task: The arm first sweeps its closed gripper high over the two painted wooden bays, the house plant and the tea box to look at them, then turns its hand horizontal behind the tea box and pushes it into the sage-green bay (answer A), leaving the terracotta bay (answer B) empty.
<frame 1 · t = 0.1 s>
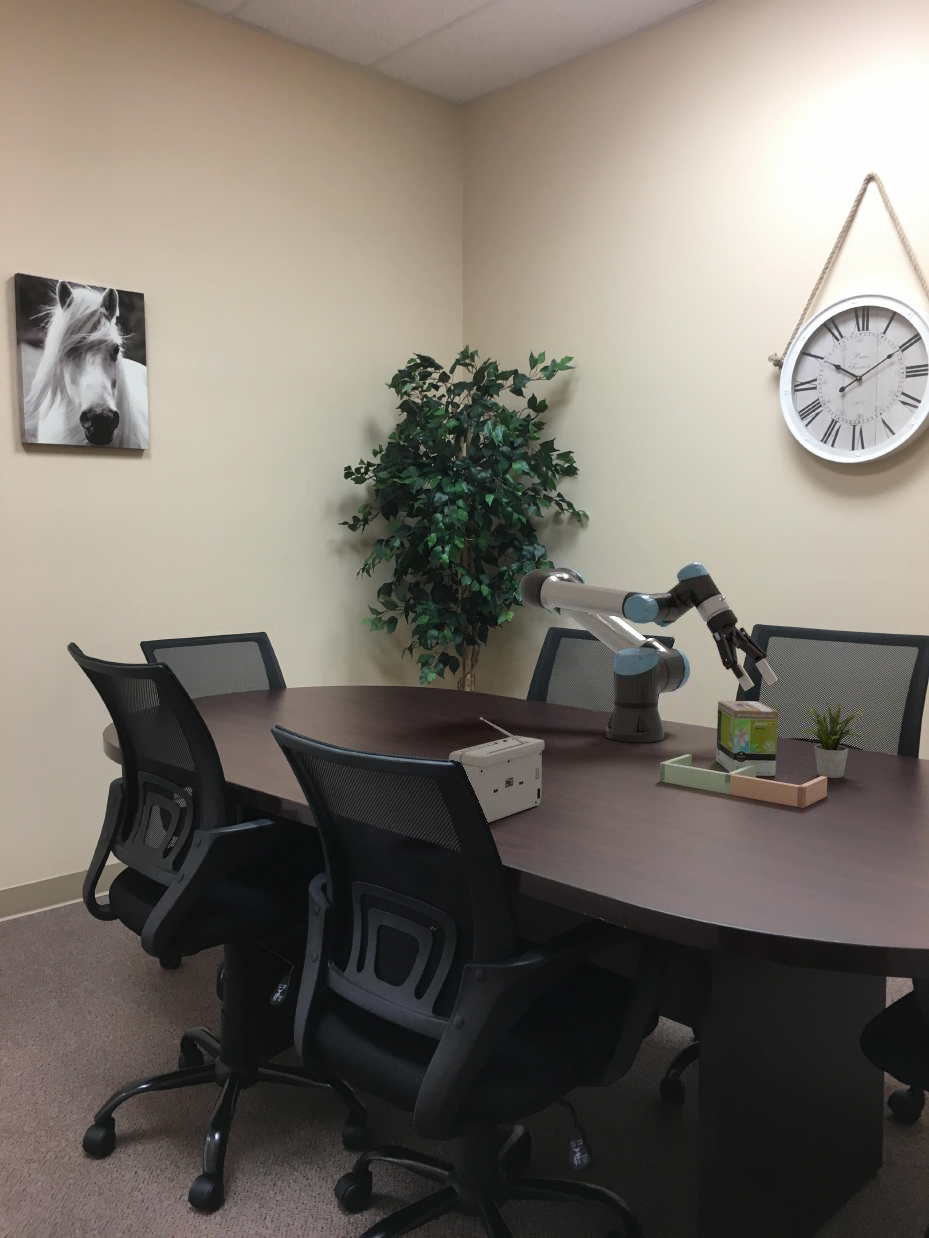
hand: (761, 685, 242), 15 cm above the table, tool tilted 35°, fingers open, 13 cm apart
terracotta bay: (777, 794, 194), on the table
green bay: (709, 781, 204), on the table
house plant: (834, 777, 209), on the table
tea box: (745, 769, 217), on the table
stereo radio cassette player: (498, 814, 180), on the table
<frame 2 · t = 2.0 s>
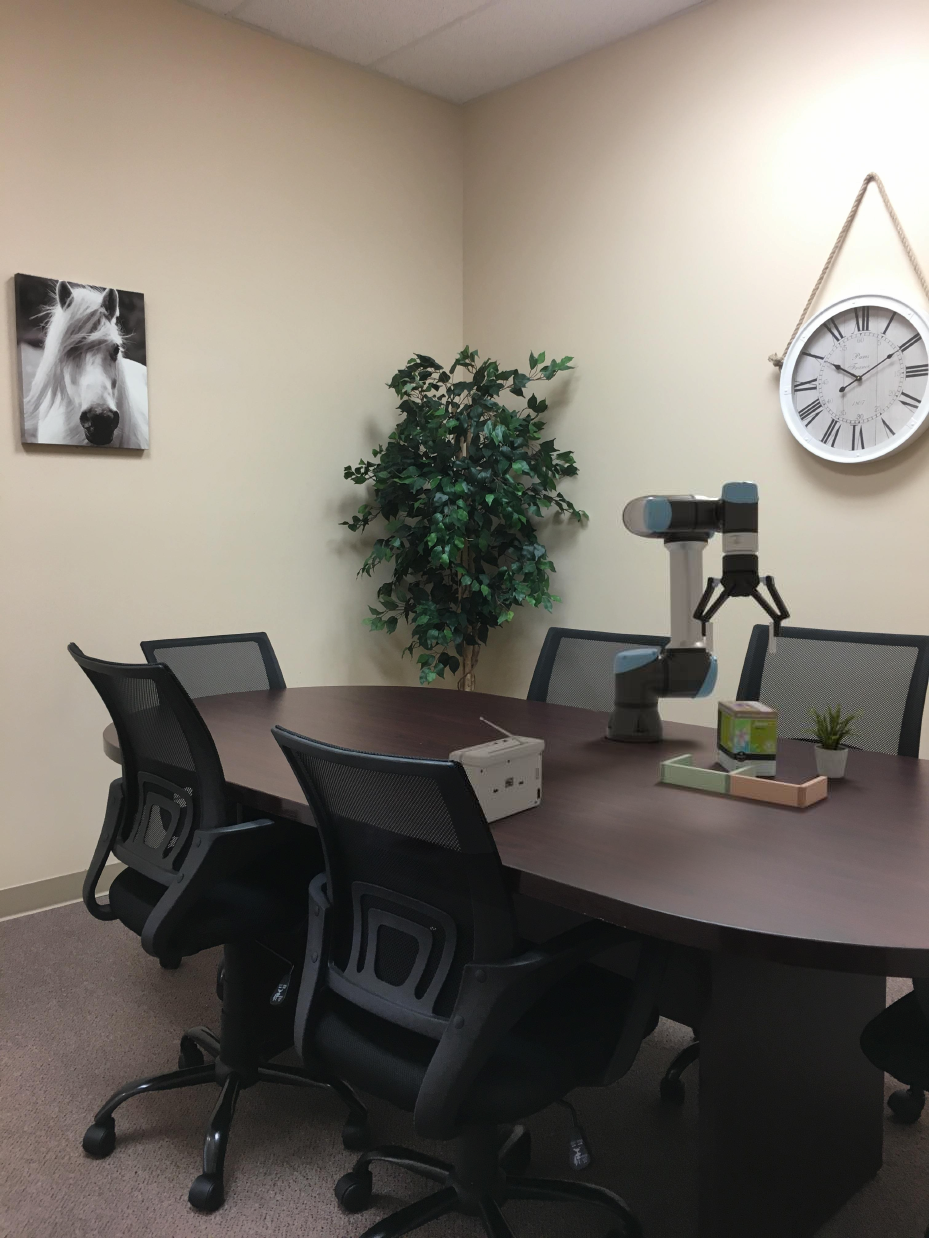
hand: (740, 652, 205), 28 cm above the table, tool pointing down, fingers open, 13 cm apart
nothing on the table moved.
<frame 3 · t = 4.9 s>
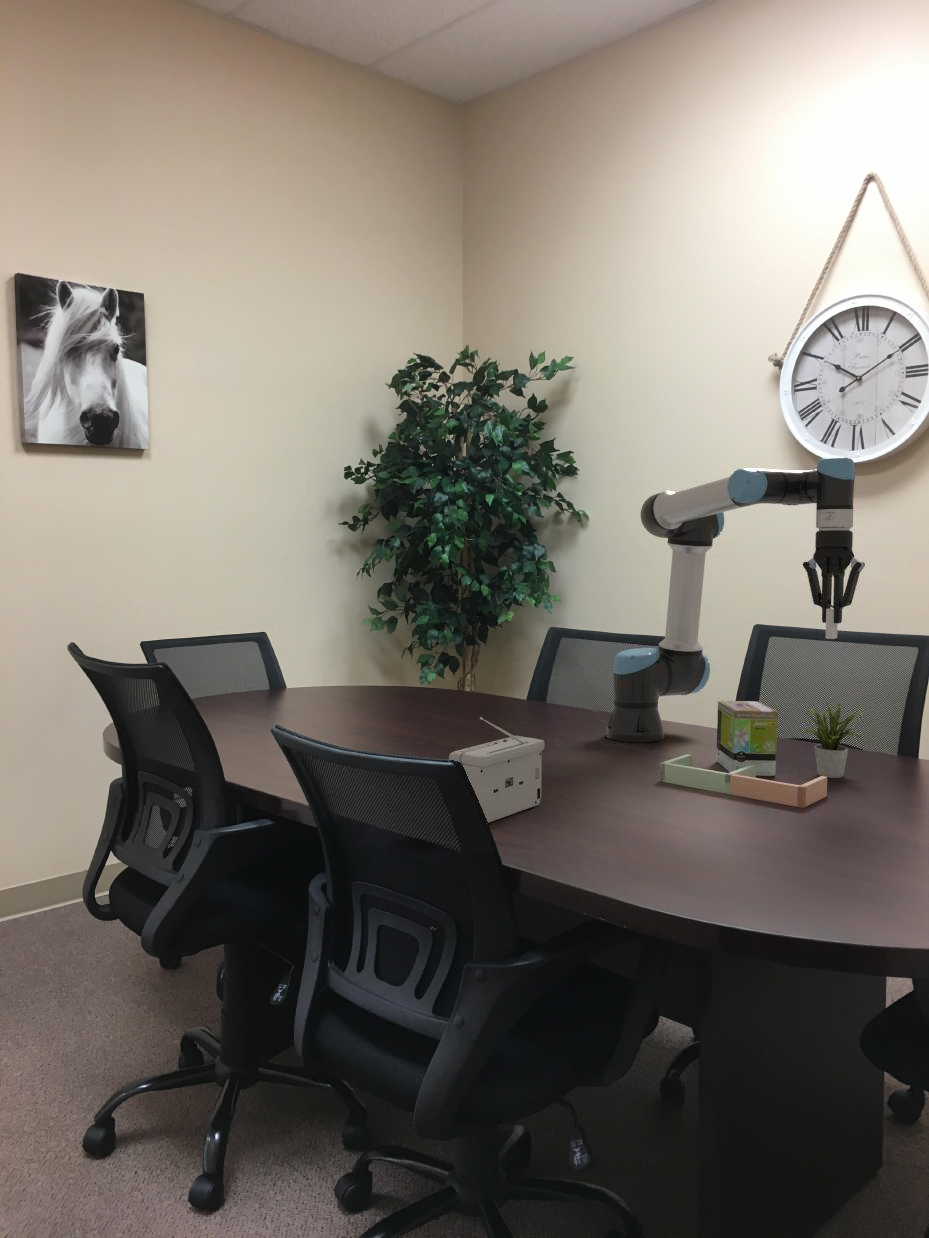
hand: (831, 638, 207), 31 cm above the table, tool pointing down, fingers closed
nothing on the table moved.
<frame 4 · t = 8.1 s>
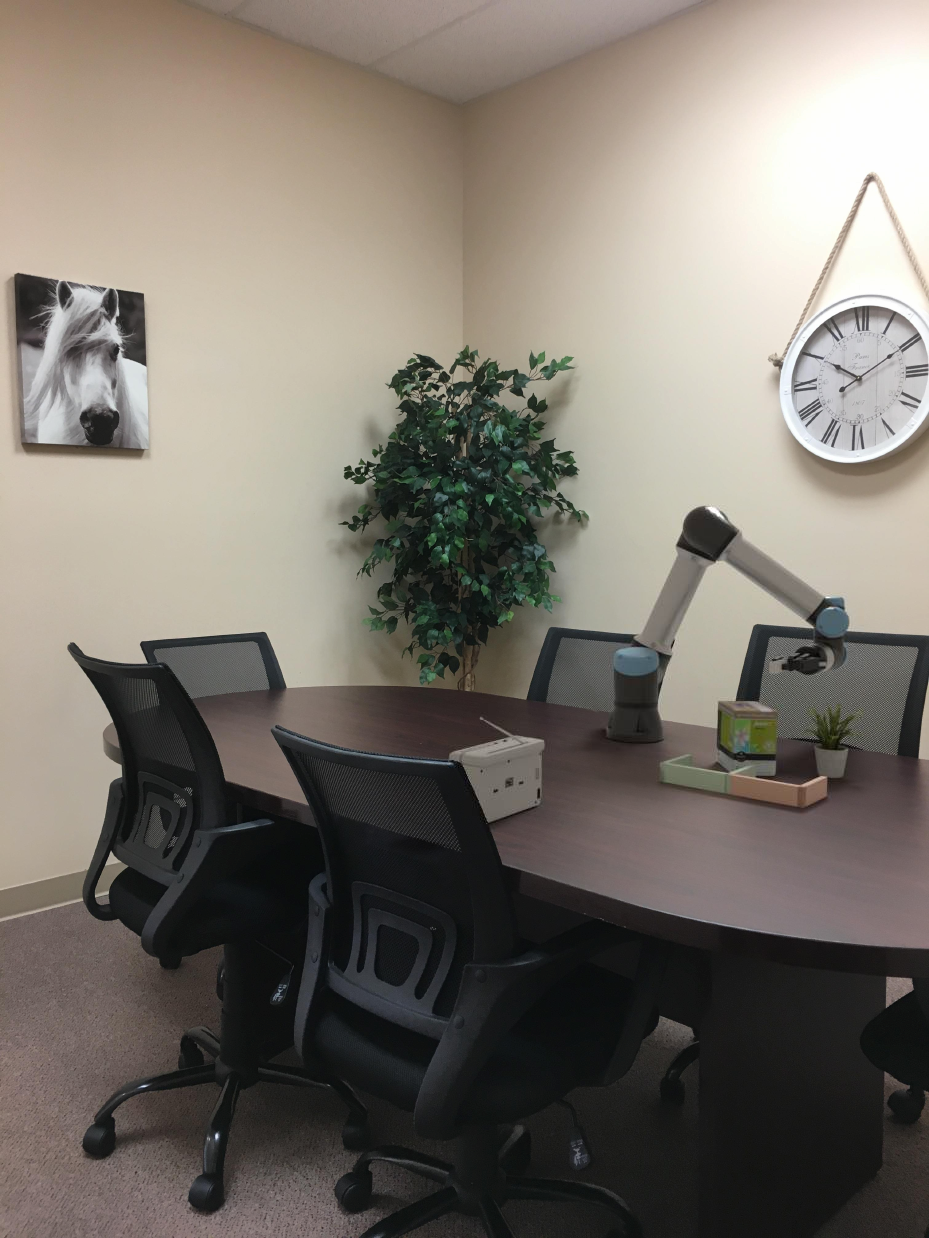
hand: (772, 667, 225), 22 cm above the table, tool horizontal, fingers closed
nothing on the table moved.
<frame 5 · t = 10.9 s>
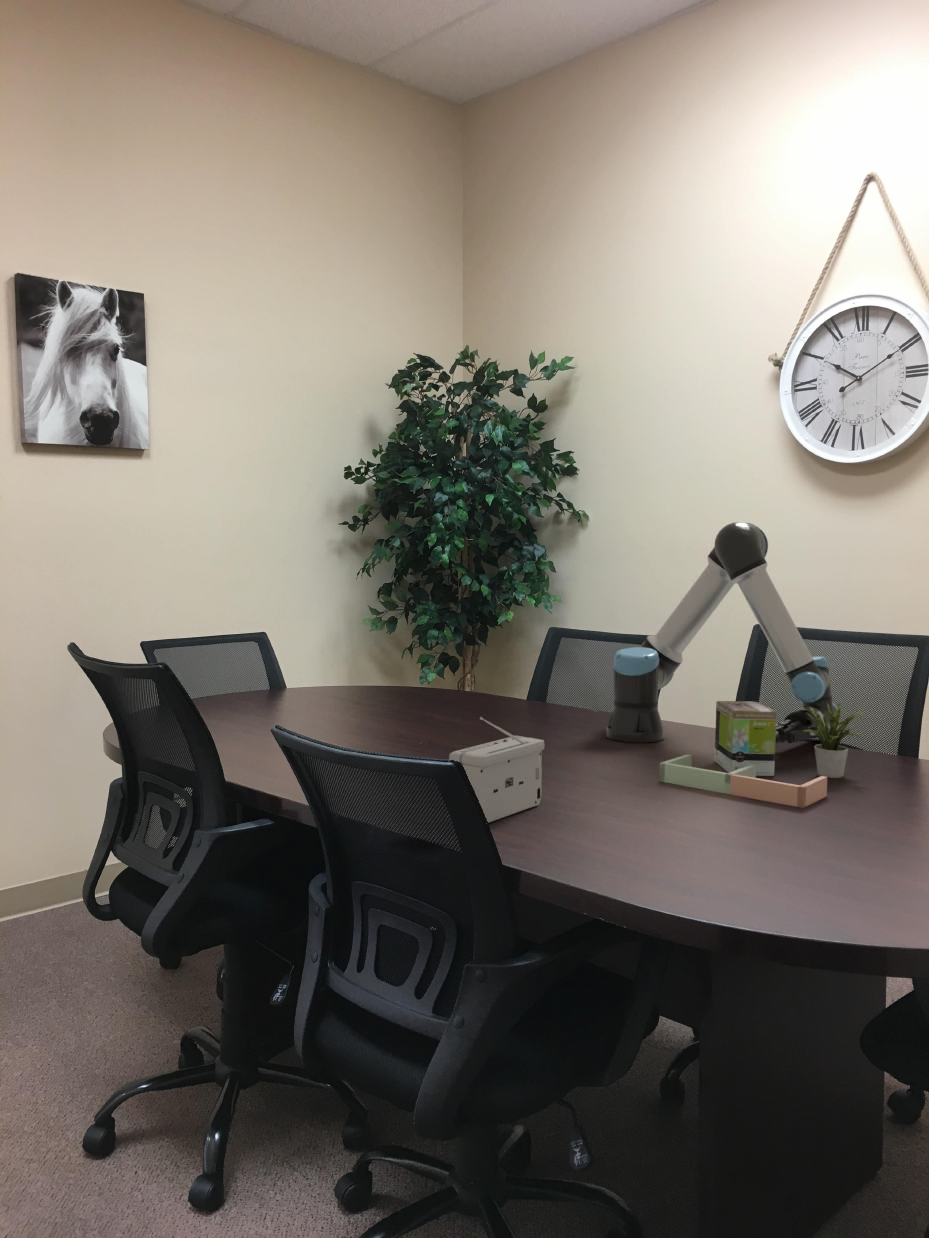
hand: (763, 741, 221), 5 cm above the table, tool horizontal, fingers closed
tea box: (743, 769, 217), on the table, touching gripper
everything else where it was.
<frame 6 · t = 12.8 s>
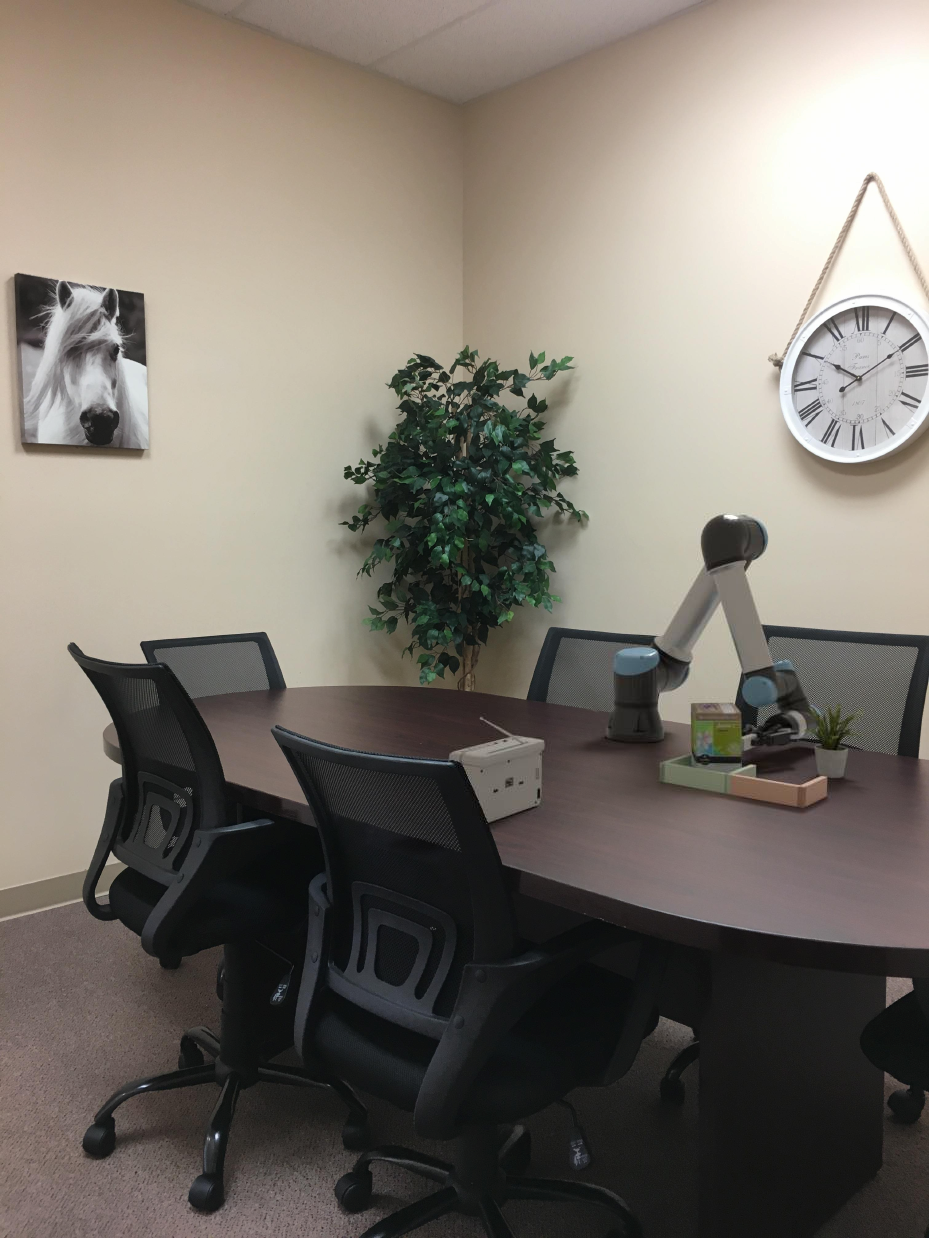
hand: (741, 744, 213), 6 cm above the table, tool horizontal, fingers closed
tea box: (716, 772, 212), on the table, touching gripper
everything else where it was.
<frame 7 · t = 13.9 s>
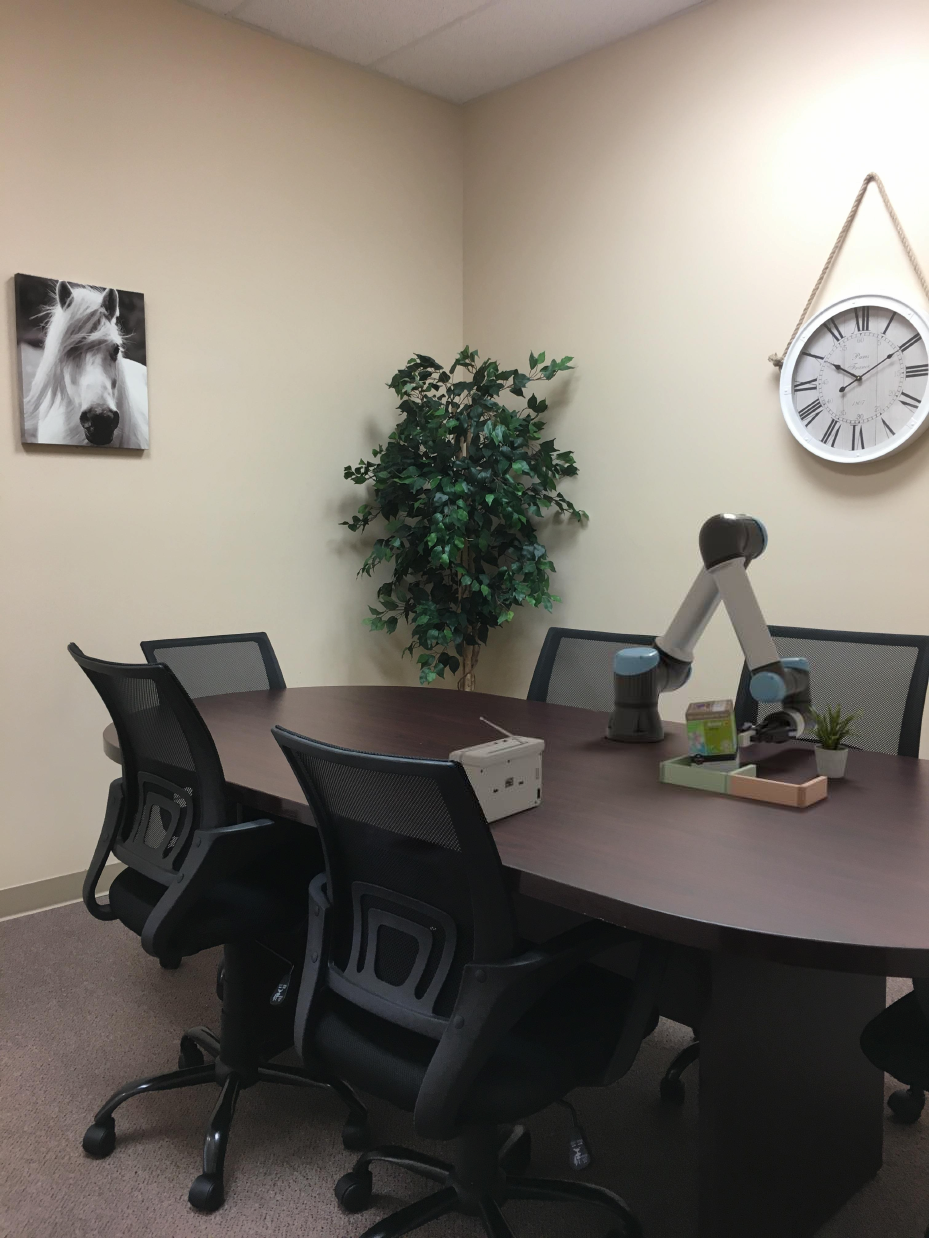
hand: (740, 740, 212), 7 cm above the table, tool horizontal, fingers closed
tea box: (717, 771, 212), point 1 cm above the table, touching green bay, gripper
everything else where it was.
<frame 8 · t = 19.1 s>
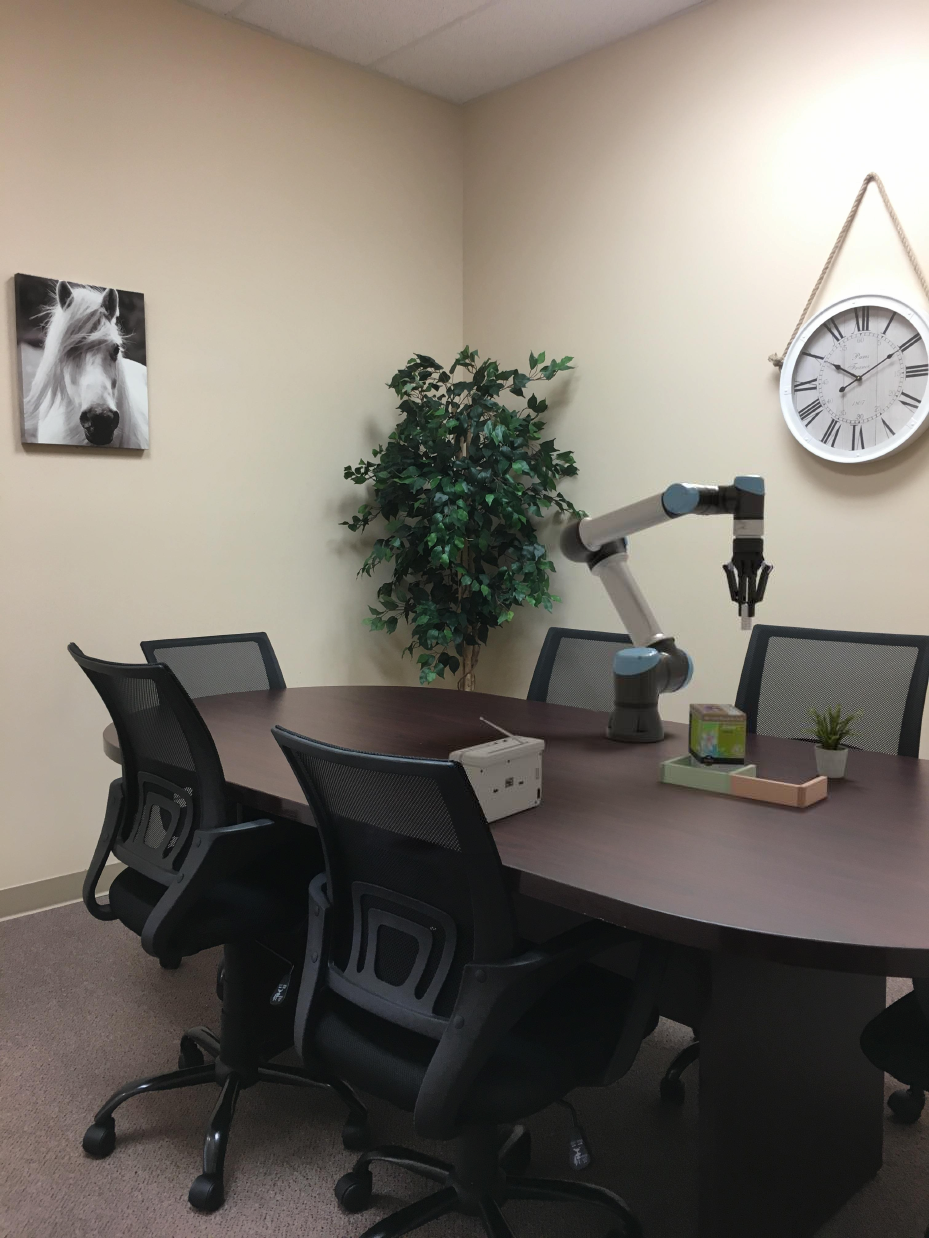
hand: (746, 629, 243), 29 cm above the table, tool pointing down, fingers closed
tea box: (715, 773, 213), on the table
everything else where it was.
at the end: tea box inside the target area (5.0 cm from its centre), on the table; tea box tilted 0° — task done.
